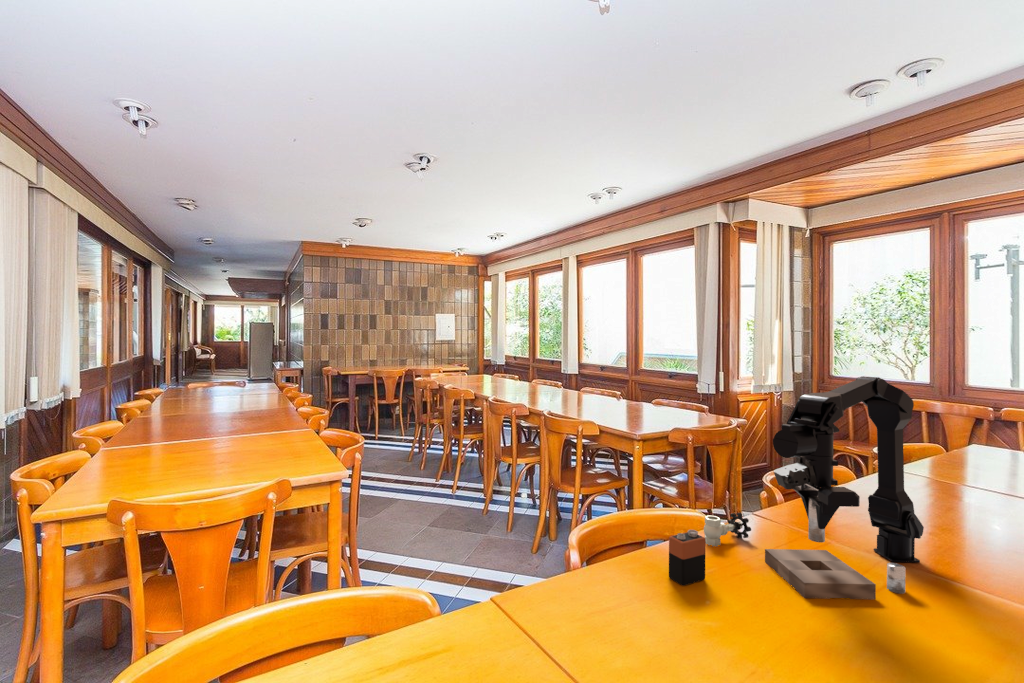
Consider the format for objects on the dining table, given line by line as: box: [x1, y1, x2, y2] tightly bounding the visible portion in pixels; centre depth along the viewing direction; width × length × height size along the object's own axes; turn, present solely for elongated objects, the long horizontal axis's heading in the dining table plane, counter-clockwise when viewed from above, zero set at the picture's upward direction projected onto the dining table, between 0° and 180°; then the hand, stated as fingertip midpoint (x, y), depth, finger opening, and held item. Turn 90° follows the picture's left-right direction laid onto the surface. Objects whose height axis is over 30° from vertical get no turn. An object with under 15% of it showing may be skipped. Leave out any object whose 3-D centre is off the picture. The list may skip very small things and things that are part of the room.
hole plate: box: [764, 548, 877, 600], centre depth 106 cm, size 14×16×3 cm
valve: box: [703, 512, 752, 547], centre depth 126 cm, size 7×7×12 cm
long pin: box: [807, 496, 826, 543], centre depth 106 cm, size 3×3×9 cm
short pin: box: [886, 562, 906, 595], centre depth 102 cm, size 3×3×5 cm
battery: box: [668, 529, 707, 587], centre depth 106 cm, size 4×7×10 cm, turn 117°
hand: (816, 525), depth 106 cm, fingers closed on long pin, 3 cm apart
